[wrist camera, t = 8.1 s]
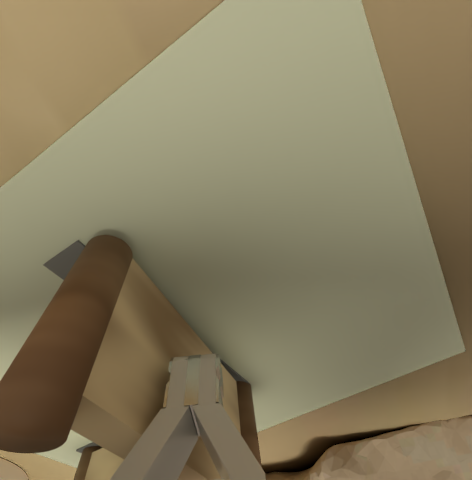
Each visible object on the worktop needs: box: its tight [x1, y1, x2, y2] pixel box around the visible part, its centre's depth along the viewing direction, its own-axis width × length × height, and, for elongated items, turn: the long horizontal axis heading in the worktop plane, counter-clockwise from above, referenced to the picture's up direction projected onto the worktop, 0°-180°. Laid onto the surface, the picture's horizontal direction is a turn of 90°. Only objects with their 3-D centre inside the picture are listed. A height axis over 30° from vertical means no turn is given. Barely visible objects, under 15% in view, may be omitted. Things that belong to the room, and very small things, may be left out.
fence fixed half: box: [74, 381, 261, 480], centre depth 15 cm, size 13×2×6 cm, turn 123°
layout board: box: [0, 0, 466, 468], centre depth 15 cm, size 26×20×1 cm
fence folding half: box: [0, 235, 241, 480], centre depth 10 cm, size 10×2×6 cm, turn 24°
